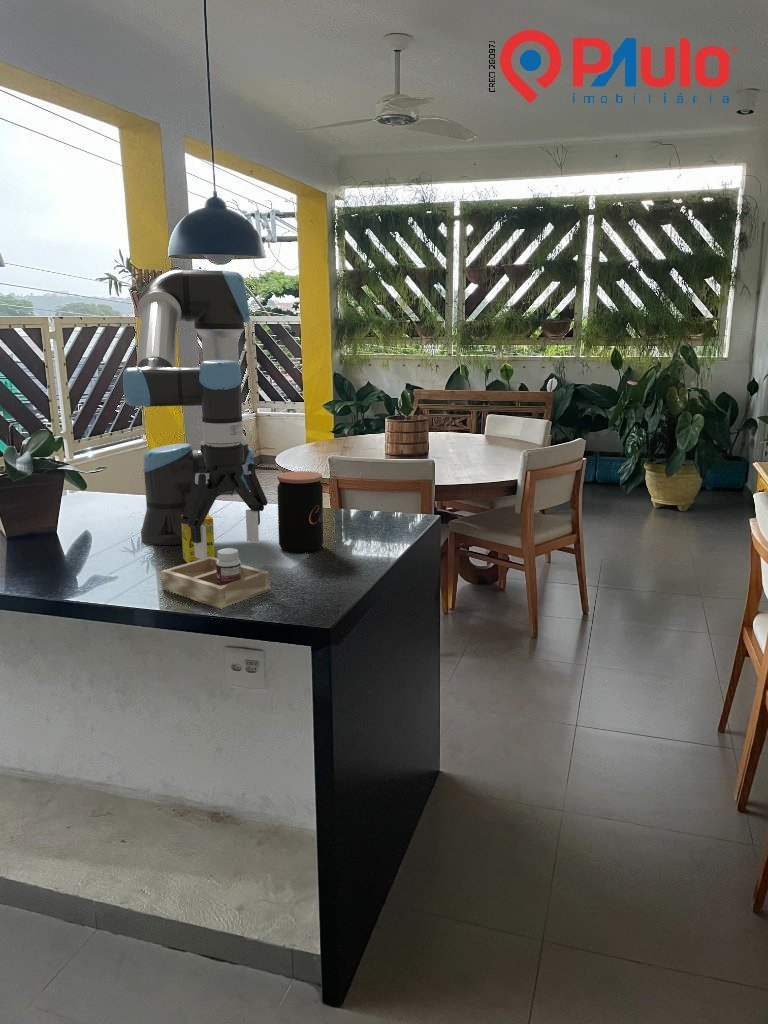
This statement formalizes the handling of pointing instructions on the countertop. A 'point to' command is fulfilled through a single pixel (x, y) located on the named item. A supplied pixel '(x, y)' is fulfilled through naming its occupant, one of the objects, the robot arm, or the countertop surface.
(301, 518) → the coffee jar
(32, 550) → the countertop surface
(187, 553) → the supplement box
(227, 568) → the pill bottle
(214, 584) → the divided wooden tray
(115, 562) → the countertop surface
